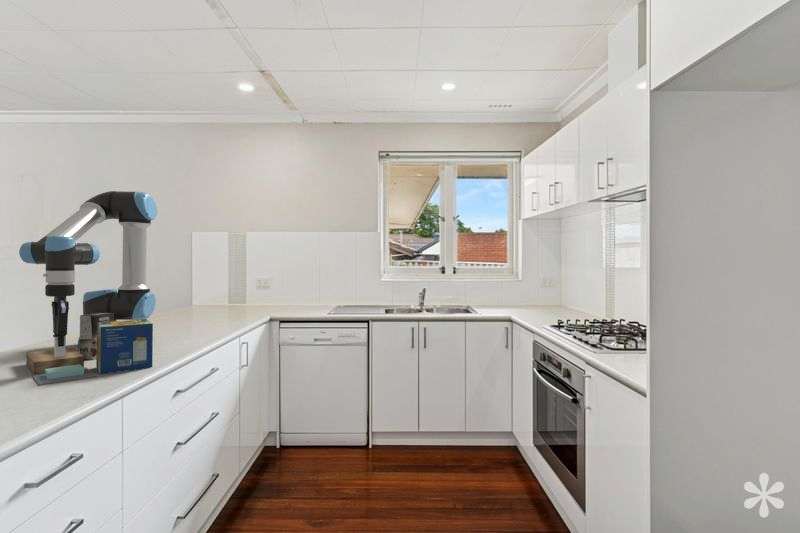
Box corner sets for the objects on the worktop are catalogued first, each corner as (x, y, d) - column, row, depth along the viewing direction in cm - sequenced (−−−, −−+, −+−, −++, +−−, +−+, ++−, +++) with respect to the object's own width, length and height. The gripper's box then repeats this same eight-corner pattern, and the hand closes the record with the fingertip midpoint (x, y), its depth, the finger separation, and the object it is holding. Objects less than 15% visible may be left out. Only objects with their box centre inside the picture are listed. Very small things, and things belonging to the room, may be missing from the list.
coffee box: (93, 360, 158) (93, 315, 158) (78, 358, 160) (78, 314, 159) (114, 354, 167) (114, 312, 167) (100, 353, 169) (100, 311, 168)
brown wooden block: (72, 358, 160) (72, 347, 160) (83, 368, 147) (83, 356, 147) (26, 364, 150) (26, 352, 150) (33, 375, 138) (33, 362, 138)
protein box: (95, 367, 148) (95, 322, 148) (147, 361, 158) (147, 318, 158) (99, 374, 140) (99, 326, 140) (153, 367, 150) (153, 322, 150)
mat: (85, 368, 147) (85, 367, 147) (96, 376, 138) (96, 375, 138) (32, 375, 137) (32, 374, 137) (38, 385, 128) (38, 384, 128)
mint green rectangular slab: (83, 367, 139) (83, 374, 139) (80, 364, 143) (80, 370, 143) (48, 372, 133) (48, 379, 133) (45, 368, 137) (45, 375, 137)
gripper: (42, 282, 143) (42, 354, 144) (48, 285, 134) (48, 361, 135) (70, 282, 149) (70, 350, 149) (78, 284, 140) (78, 357, 140)
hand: (60, 355), depth 142 cm, fingers closed
